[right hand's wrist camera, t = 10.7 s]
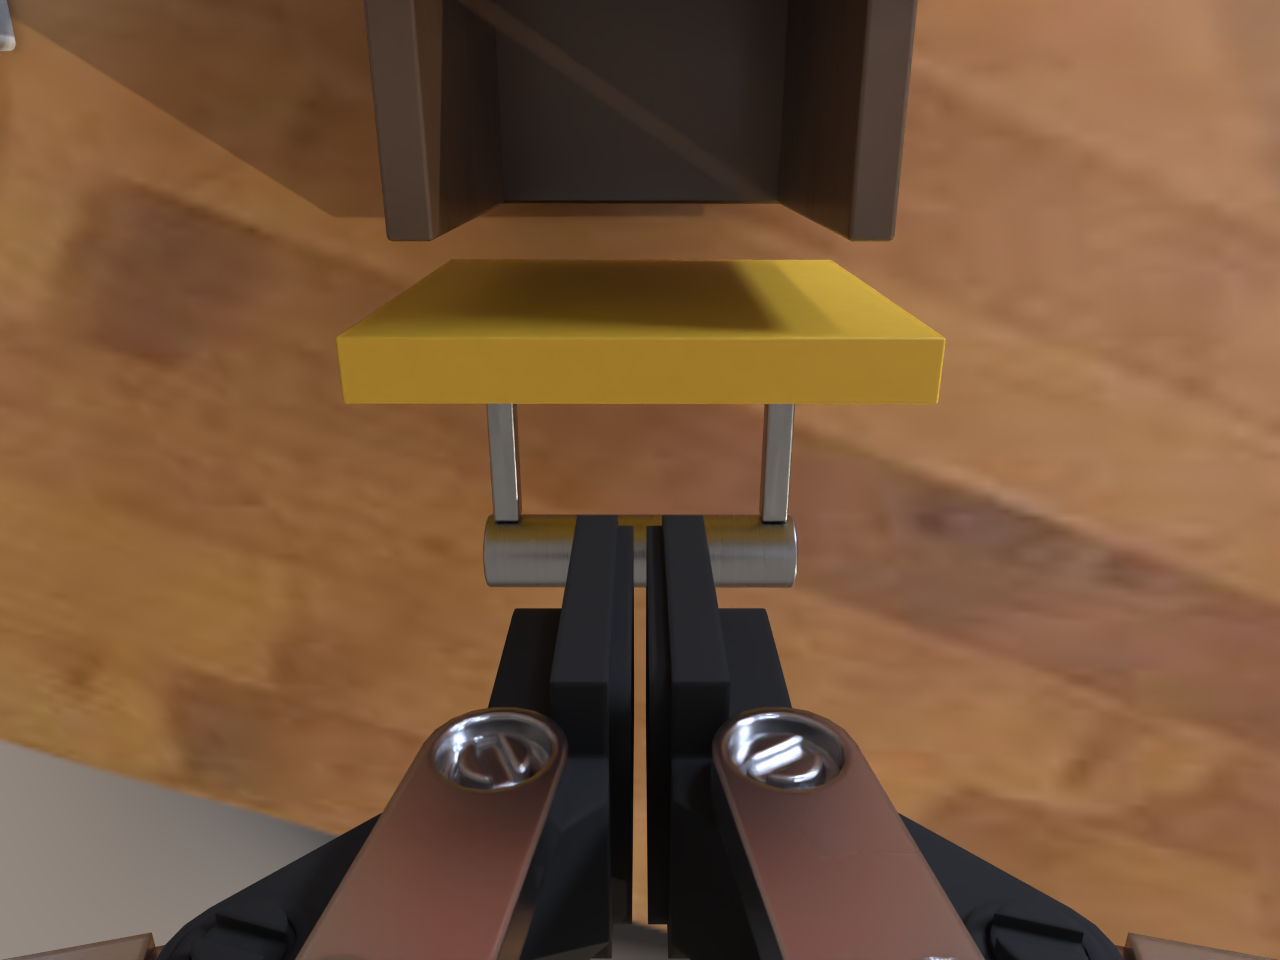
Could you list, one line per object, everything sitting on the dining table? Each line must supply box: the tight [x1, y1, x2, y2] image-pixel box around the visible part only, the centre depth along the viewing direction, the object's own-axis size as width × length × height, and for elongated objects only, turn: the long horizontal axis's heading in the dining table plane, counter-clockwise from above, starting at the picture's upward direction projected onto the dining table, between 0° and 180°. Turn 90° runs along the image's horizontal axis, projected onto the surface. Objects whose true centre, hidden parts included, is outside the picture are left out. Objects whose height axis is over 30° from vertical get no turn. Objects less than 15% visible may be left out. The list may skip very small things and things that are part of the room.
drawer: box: [336, 0, 946, 588], centre depth 19 cm, size 21×10×10 cm, turn 0°
